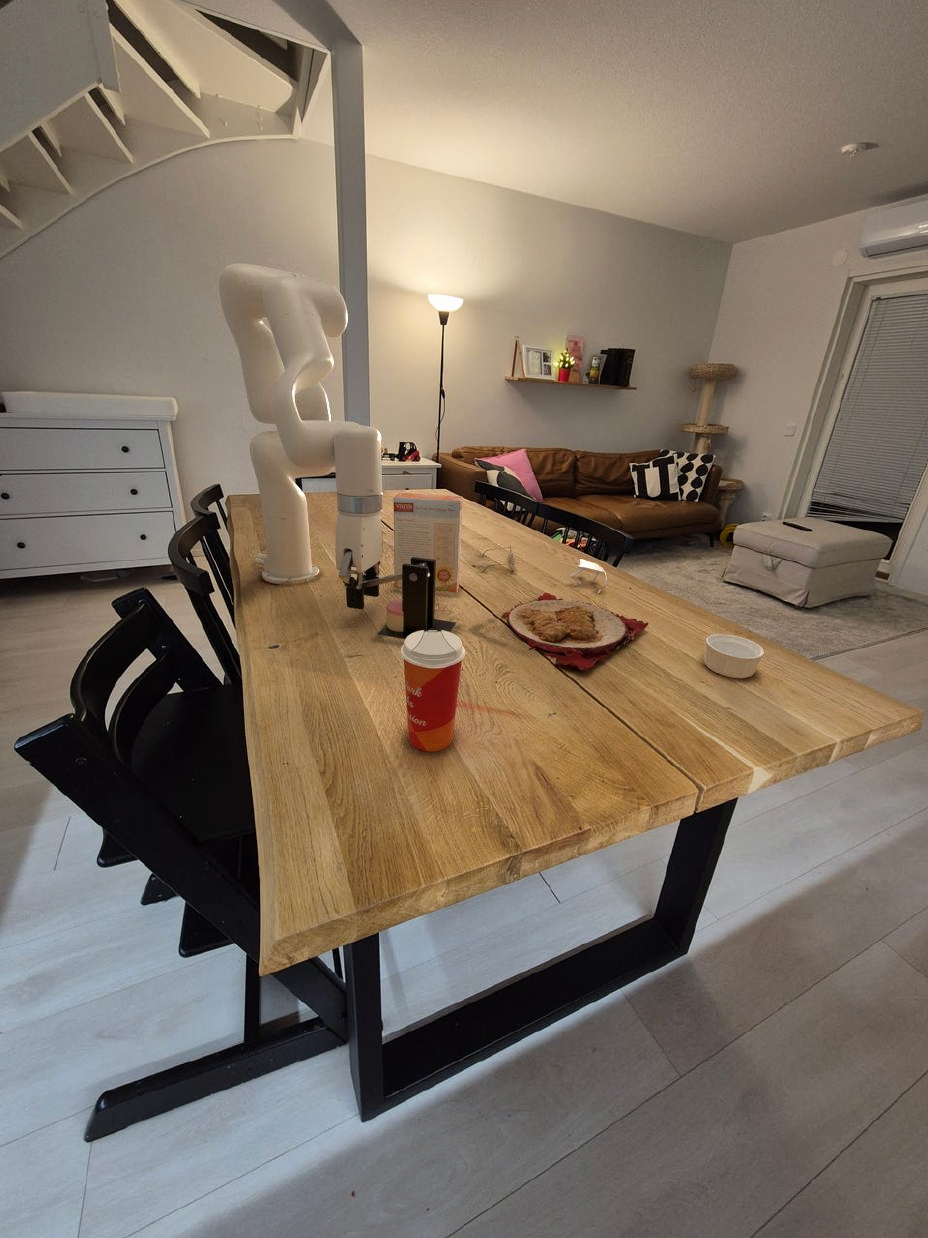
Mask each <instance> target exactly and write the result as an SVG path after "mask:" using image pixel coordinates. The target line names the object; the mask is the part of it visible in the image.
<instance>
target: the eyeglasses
mask: <svg viewBox="0 0 928 1238" xmlns="http://www.w3.org/2000/svg"><path fill="white" fill-rule="evenodd" d="M502 549H504V550H505V549H509V554H508V555H507V556H508V560H509V562H508V563H507V562H506V563H501V564H499V566H504V565H511V569H512V572H514V571H515V556H514V555H515V554H514V553H513V548H512V545H510V546H507V547H500V548H498V550H502ZM494 550H496V548H492V549H490V551H494ZM488 551H489V549H486V550H485V551H484V552H483V554H482V555H481V557H484V555H485V554H486V552H488ZM495 566H497V564H493V565H487V566H486V567H485V568H484V570H483V571H482V573H484V572H485V571H486V570H487V568H489V567H495Z"/></svg>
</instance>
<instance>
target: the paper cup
mask: <svg viewBox="0 0 928 1238" xmlns="http://www.w3.org/2000/svg"><path fill="white" fill-rule="evenodd" d="M465 649H466V648H465V647H464V646H463V642H462V640H461V638H460V637H459V636H458V635H457V634H455V633H453V632H451V633H450V632H447V631H443V630H441V632H437V630H428V632H424V630H421V631H417V632H414V633H412V634H410V635H409V636H408V637H407V638H406V639H404V641H403V644H402V646H401V648H400V655H401V658H402V659H403V673H404V686H405V687H404V688H405V702H406V716H407V717H406V718H407V719H406V720H407V730H408V739H409V742H410V744H411V745H412V747H414V748H415V749H417V750H420V751H423V752H429V753H432V752H439V751H442V750H444V749H446V748H447V747H449V746H450V745H451V743H452V740H453V735H454V730H455V722H456V721H455V720H456V715H457V714H456V712H457V707H458V706H457V704H458V696H459V689H460V678H461V670H462V663H463V662H462V661H463V659H464V658H465V656H466V650H465Z"/></svg>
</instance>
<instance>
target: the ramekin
mask: <svg viewBox="0 0 928 1238" xmlns="http://www.w3.org/2000/svg"><path fill="white" fill-rule="evenodd" d="M764 654H765V650H764V648H763V647H762V646H761V645H759V644H758V643H757V642H755V641H753V640H750V639H748V638H745V637H742V636H739V635H733V634H727V633H717V634H711V635H709V636H707V637H706V639H705V649H704V655H703V662H704V664H705V666H706V667H707V668H708V669H709V670H711V671H712V672H714V673H716V674H719V675H720V676H723V677H728V678H734V679H747V678H750V677H752V676H753V675H754V674H755V672H756V670H757V668H758V665H759V664H760V661H761V659H762V658H763V657H764Z"/></svg>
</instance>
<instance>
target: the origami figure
mask: <svg viewBox="0 0 928 1238" xmlns="http://www.w3.org/2000/svg"><path fill="white" fill-rule="evenodd" d="M579 562H580V563H579V565H577V567H576V568H577V569H576V570H574V571H572V572H571V573H570V574H569V575H568V577H570V578H571V579H573V580H574V581H575V582H576V583H573V584H571V586H572V587H576V586H577V585H580V584H582V582H581V581H580V580H579V579H582V574H583V571H587V572H592V573H595V575H594V577H593V579H592V581H593V583H594V584H596V579H597V578H598V576H599V575H603V582H604V583H603V586H601V587H599V590H598V591H597V594H600V593H601V592H602V590H603V589H605V588H606V587H607V586H608V578H607V573H606V570H605V569H604V568H603V567H602V566H601V565H599V564H598V563H596V562H592V561H589V560H585V559H583V558H582V559H580V561H579ZM578 574H579V579H578V578H577V577H576V576H577V575H578Z"/></svg>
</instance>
